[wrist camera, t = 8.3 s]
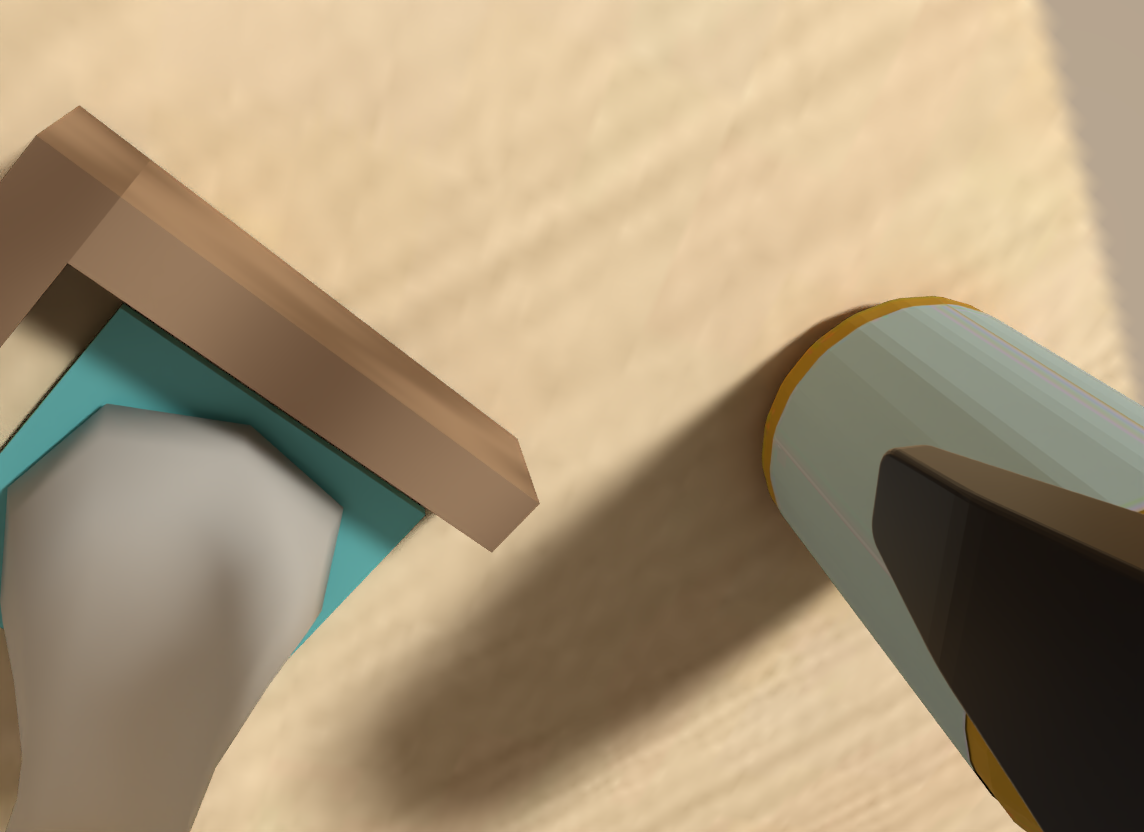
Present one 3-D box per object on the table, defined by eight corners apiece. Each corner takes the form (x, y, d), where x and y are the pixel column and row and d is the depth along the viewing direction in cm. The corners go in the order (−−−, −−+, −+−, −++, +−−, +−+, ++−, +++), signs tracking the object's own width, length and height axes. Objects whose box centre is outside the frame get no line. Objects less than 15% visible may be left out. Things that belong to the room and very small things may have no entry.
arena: (517, 438, 24) (539, 503, 21) (139, 833, 26) (116, 934, 24) (79, 105, 19) (36, 135, 16) (-330, 633, 21) (-424, 733, 19)
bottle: (764, 296, 23) (1316, 778, 10) (1033, 279, 25) (1831, 686, 11) (740, 548, 26) (1141, 1171, 13) (980, 521, 28) (1563, 1062, 14)
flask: (-55, 607, 22) (-315, 1056, 13) (84, 342, 20) (-112, 661, 12) (251, 711, 25) (202, 1136, 16) (397, 487, 23) (433, 831, 14)
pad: (424, 508, 24) (425, 514, 24) (217, 725, 25) (216, 734, 25) (123, 303, 20) (120, 307, 20) (-96, 569, 22) (-102, 577, 22)
